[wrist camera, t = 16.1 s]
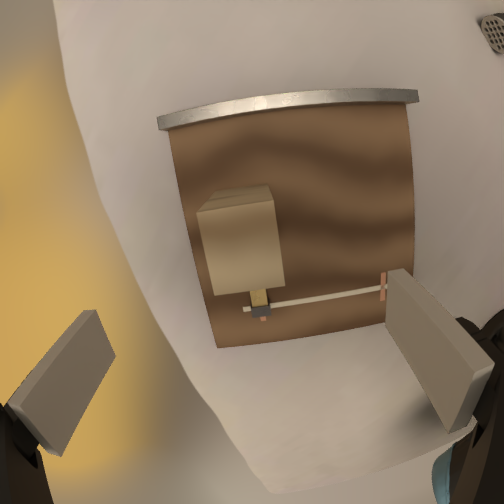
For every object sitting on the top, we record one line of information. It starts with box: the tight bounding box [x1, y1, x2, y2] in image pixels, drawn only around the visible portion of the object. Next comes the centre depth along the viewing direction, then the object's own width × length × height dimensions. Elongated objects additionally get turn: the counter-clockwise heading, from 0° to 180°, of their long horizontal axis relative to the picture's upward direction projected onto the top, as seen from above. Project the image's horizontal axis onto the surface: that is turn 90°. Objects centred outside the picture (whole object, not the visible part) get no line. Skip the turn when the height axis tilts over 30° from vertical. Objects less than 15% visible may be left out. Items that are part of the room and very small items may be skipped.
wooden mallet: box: [196, 183, 285, 318], centre depth 26 cm, size 13×5×10 cm, turn 9°
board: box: [157, 88, 419, 348], centre depth 29 cm, size 26×24×4 cm
